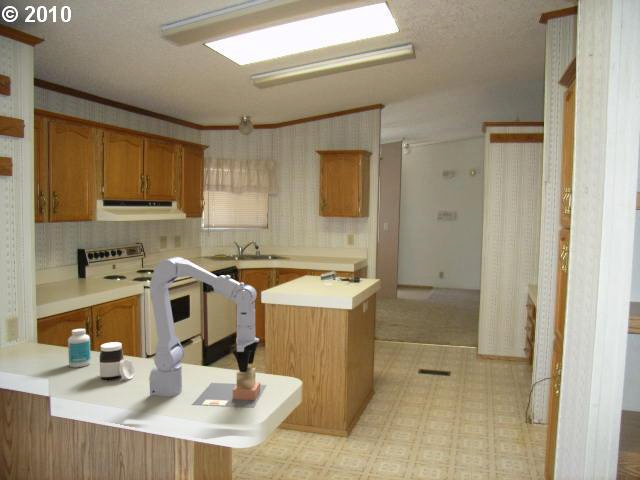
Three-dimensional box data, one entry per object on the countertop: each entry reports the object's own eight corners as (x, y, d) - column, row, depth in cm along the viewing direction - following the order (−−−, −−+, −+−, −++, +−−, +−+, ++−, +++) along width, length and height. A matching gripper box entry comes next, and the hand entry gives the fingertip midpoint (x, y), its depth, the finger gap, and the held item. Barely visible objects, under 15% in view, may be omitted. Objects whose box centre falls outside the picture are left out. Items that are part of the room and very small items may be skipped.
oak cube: (236, 388, 150) (236, 372, 150) (240, 382, 155) (240, 367, 154) (251, 389, 149) (251, 373, 149) (255, 383, 154) (255, 368, 154)
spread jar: (102, 373, 174) (101, 341, 174) (135, 370, 178) (134, 339, 177) (97, 385, 163) (96, 351, 162) (133, 381, 166) (132, 348, 166)
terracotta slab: (232, 399, 149) (232, 389, 149) (238, 390, 156) (238, 381, 156) (254, 400, 148) (254, 390, 148) (260, 391, 155) (260, 382, 155)
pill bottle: (94, 364, 185) (93, 329, 184) (76, 369, 178) (74, 333, 177) (83, 360, 189) (82, 326, 188) (64, 365, 182) (63, 330, 181)
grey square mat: (191, 407, 145) (191, 404, 145) (211, 385, 163) (211, 382, 163) (253, 410, 143) (253, 407, 143) (266, 388, 161) (266, 384, 161)
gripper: (253, 331, 143) (253, 376, 144) (263, 319, 157) (264, 360, 158) (229, 330, 144) (230, 375, 145) (242, 319, 158) (242, 359, 159)
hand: (246, 367), depth 152 cm, fingers open, 7 cm apart
